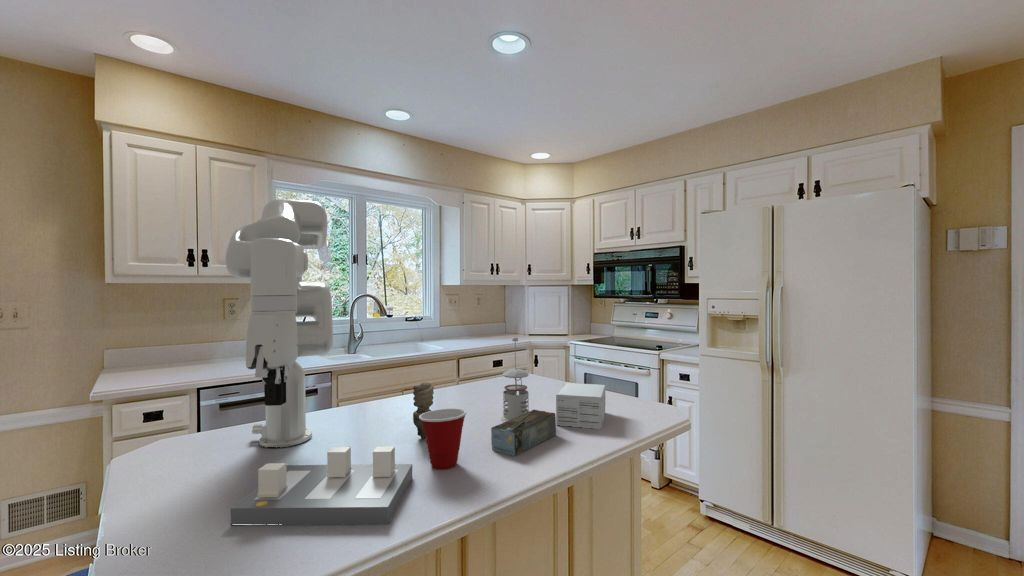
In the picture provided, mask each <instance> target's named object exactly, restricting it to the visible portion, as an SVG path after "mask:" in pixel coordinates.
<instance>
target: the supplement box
mask: <svg viewBox="0 0 1024 576" xmlns="http://www.w3.org/2000/svg"><path fill="white" fill-rule="evenodd" d="M555 398H556V399H555V403H556V404H555V417H556V426H557V425H560V427H567V426H572V427H571V428H579V427H582V428H581V429H590V428H593V429H592V430H602V426H603V422H604V419H605V415H606V385H605V384H597V383H595V384H593V383H576V382H575V383H574V382H565V383H564V384H563V386H561V388H560V390H558V393H557V394H555Z"/></svg>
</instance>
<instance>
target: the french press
mask: <svg viewBox="0 0 1024 576" xmlns="http://www.w3.org/2000/svg"><path fill="white" fill-rule="evenodd" d="M511 341H512V342H514V368H511V369H508V370H506V371H504V372H503V373H502V376H503V377H505V378H509V379H514V382H515V384H508V385H505V386H504V390H503V391H502V397H503V399H502V402H503V403H502V405H503V406H502V407H503V409H502V411H503V412H502V413H503V415H501V417H500V418H501V420H502V421H501V420H500V421H501V422H503V421H505V422H506V421H509V420H511V419H514V418H516V417H518V416H520V415H523V414H525V413H527V412H529V407H530V406H529V405H530V404H529V403H530V402H529V401H530V400H529V396H530V395H529V391H528V390H527V389H528V386H527V385H525V384H523V380H522V379H523V378H527V377H528V376H530V373H529V372H528V371H526V370H523V369H521V368H517V366H516V365H517V361H516V360H517V358H516V356H517V354H516V352H517V351H516V348H517V347H516V345H517V344H516V342H519V338H518V337H515V336H514V337H512V340H511ZM518 381H520V384H518ZM517 392H518V394H517Z"/></svg>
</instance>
